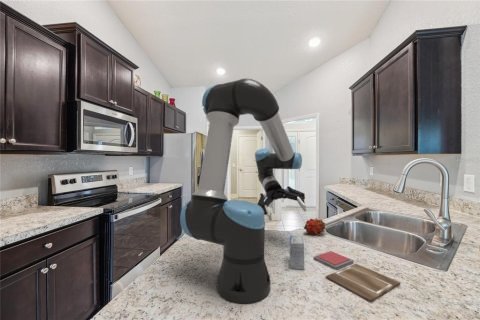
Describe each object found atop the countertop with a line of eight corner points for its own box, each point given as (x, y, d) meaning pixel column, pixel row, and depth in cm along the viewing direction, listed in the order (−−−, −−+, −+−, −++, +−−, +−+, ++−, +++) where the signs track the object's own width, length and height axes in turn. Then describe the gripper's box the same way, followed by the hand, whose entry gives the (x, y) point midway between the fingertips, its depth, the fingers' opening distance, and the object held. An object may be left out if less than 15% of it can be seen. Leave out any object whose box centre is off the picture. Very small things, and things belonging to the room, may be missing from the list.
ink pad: (335, 270, 68) (335, 266, 68) (313, 259, 76) (313, 255, 76) (353, 263, 73) (353, 259, 73) (330, 253, 81) (330, 250, 81)
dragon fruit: (327, 237, 104) (306, 242, 102) (318, 223, 111) (297, 227, 109) (332, 226, 99) (309, 231, 97) (322, 212, 106) (300, 217, 104)
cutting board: (370, 302, 52) (370, 299, 52) (326, 278, 63) (326, 275, 63) (400, 284, 60) (400, 281, 60) (356, 265, 72) (356, 263, 72)
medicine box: (304, 270, 68) (304, 243, 68) (290, 269, 69) (290, 242, 69) (302, 259, 76) (302, 235, 76) (289, 258, 77) (289, 234, 77)
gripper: (298, 187, 100) (320, 212, 80) (248, 200, 99) (257, 229, 79) (296, 173, 97) (318, 196, 77) (244, 187, 96) (253, 213, 76)
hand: (287, 213), depth 78 cm, fingers open, 13 cm apart
